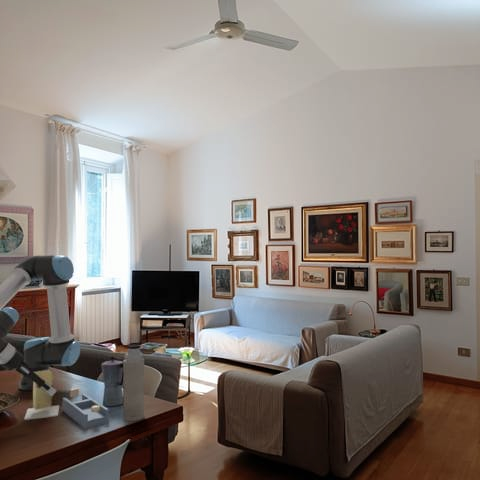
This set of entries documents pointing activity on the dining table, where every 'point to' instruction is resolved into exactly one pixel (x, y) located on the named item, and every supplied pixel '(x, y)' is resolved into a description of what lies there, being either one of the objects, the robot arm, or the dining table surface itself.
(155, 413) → the dining table surface
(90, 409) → the grey divided tray
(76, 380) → the dining table surface
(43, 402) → the tan cardboard box
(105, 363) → the moka pot
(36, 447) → the dining table surface
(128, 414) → the thermos bottle
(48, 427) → the dining table surface
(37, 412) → the white square mat
